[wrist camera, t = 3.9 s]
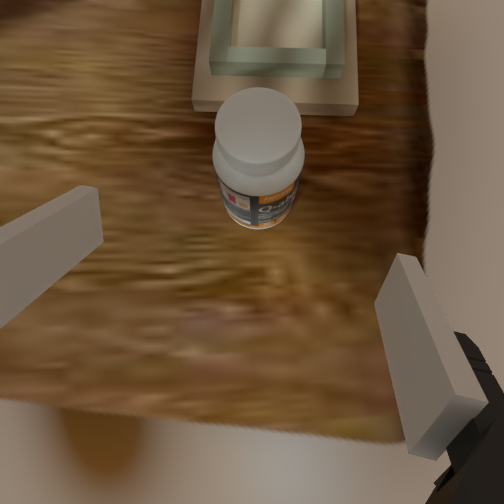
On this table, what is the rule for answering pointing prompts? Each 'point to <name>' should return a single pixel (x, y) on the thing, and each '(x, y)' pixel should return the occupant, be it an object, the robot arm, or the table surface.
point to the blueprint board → (278, 53)
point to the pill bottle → (258, 156)
